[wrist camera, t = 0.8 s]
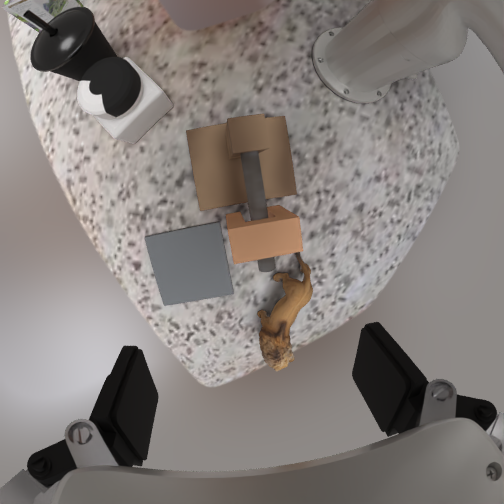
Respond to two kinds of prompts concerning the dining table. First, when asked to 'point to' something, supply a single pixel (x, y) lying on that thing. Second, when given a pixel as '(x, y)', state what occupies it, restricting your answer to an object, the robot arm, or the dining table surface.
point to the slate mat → (190, 264)
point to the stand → (243, 165)
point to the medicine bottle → (122, 98)
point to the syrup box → (39, 9)
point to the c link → (264, 235)
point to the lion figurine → (284, 318)
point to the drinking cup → (68, 43)
